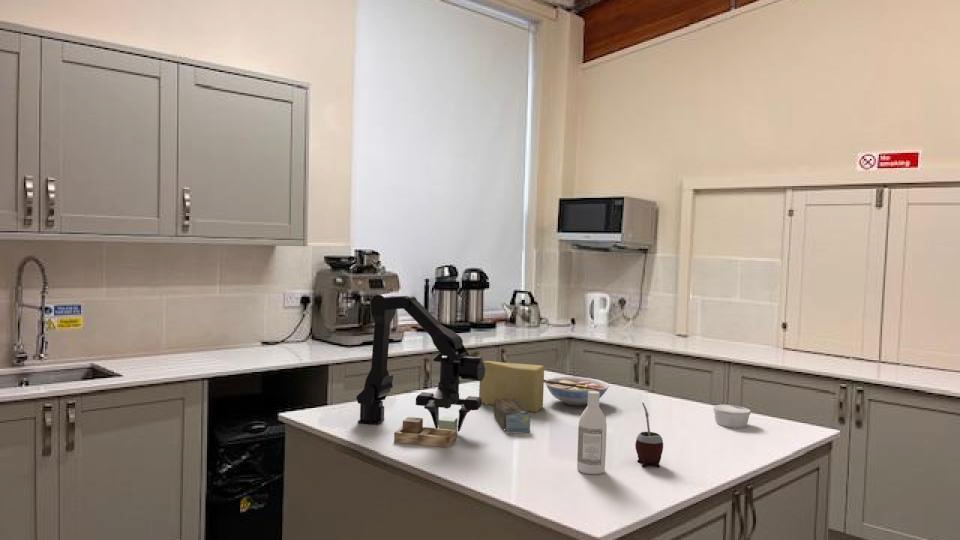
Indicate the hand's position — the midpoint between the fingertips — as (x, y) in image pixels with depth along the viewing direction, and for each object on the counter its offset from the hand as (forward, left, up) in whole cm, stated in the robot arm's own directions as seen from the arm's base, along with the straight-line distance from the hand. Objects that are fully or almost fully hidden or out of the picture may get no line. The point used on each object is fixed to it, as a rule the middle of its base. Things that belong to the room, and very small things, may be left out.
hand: (447, 430), depth 204 cm
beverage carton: (+16, +16, -2) cm, 23 cm away
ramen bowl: (+33, +51, -1) cm, 61 cm away
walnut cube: (-8, -9, 0) cm, 12 cm away
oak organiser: (-4, -9, -1) cm, 10 cm away
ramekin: (+84, +40, -1) cm, 93 cm away
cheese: (+11, +39, -1) cm, 41 cm away
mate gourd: (+57, -10, -1) cm, 58 cm away
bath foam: (+43, -20, -1) cm, 47 cm away
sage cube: (0, 0, -1) cm, 1 cm away
